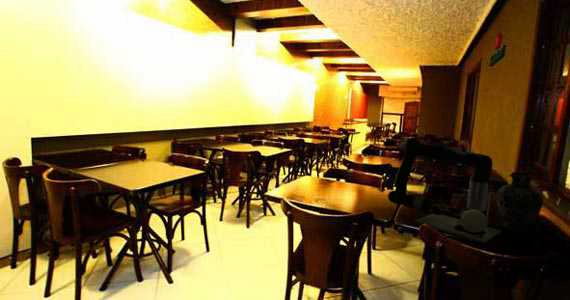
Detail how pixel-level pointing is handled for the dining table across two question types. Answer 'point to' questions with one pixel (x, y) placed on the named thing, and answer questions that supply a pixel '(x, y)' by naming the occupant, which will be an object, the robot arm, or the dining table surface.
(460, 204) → the soda can
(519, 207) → the decorative vase
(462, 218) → the ball
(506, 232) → the dining table surface
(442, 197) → the dining table surface
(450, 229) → the putting board
